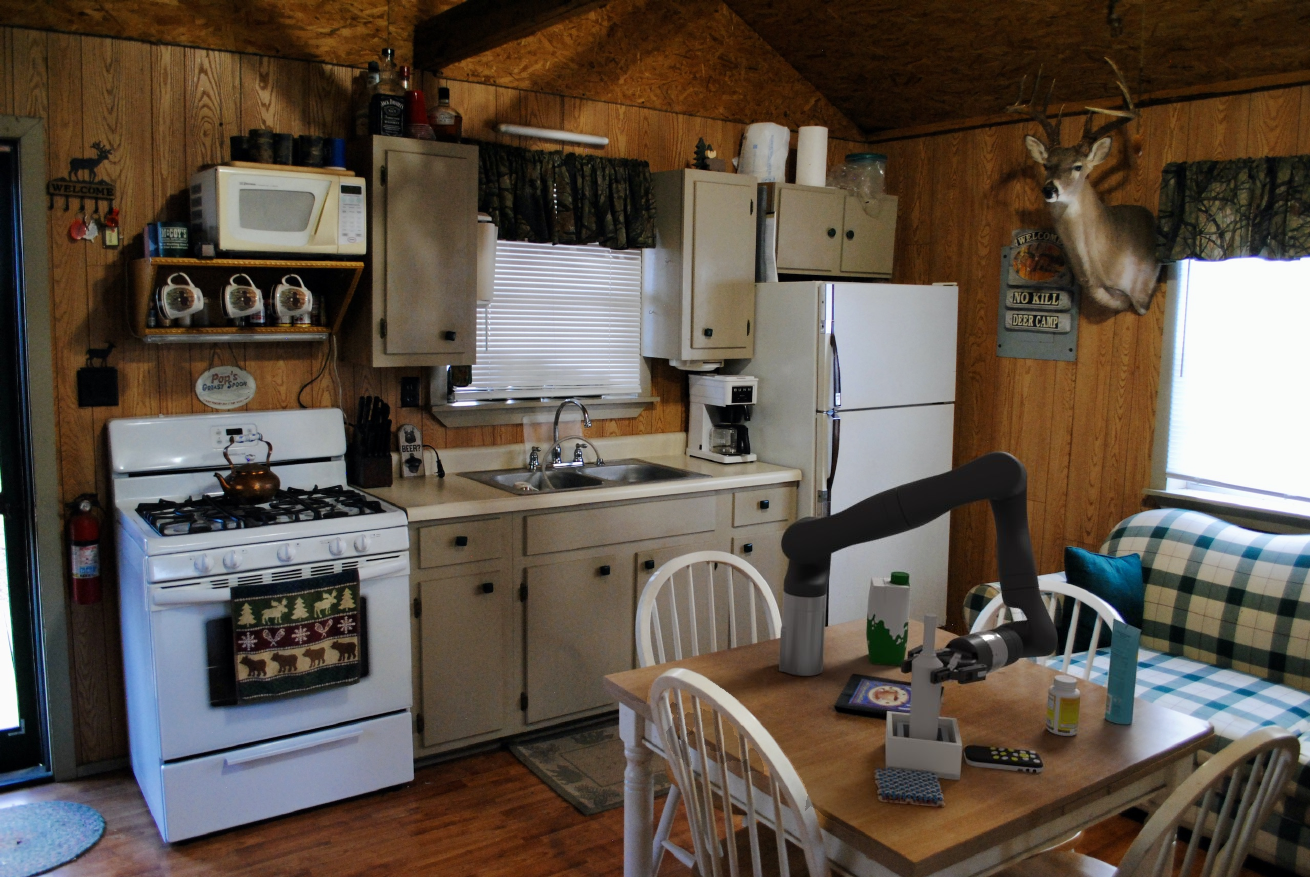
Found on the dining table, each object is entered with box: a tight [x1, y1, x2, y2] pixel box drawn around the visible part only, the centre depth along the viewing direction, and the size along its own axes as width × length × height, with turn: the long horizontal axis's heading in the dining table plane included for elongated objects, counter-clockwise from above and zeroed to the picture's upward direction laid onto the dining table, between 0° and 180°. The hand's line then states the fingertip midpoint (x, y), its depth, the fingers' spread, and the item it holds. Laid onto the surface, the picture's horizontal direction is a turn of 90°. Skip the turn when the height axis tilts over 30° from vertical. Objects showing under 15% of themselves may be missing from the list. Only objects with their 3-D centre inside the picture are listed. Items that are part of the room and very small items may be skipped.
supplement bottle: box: [1045, 674, 1081, 737], centre depth 189 cm, size 6×6×10 cm
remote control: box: [963, 744, 1044, 774], centre depth 176 cm, size 6×13×2 cm, turn 80°
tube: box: [1104, 618, 1142, 725], centre depth 195 cm, size 7×5×19 cm, turn 20°
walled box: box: [884, 710, 963, 781], centre depth 175 cm, size 12×12×6 cm
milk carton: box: [865, 571, 911, 667], centre depth 226 cm, size 9×9×20 cm
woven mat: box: [873, 766, 946, 808], centre depth 164 cm, size 10×11×2 cm
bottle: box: [909, 612, 943, 741], centre depth 174 cm, size 5×5×25 cm
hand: (917, 672), depth 171 cm, fingers open, 5 cm apart
